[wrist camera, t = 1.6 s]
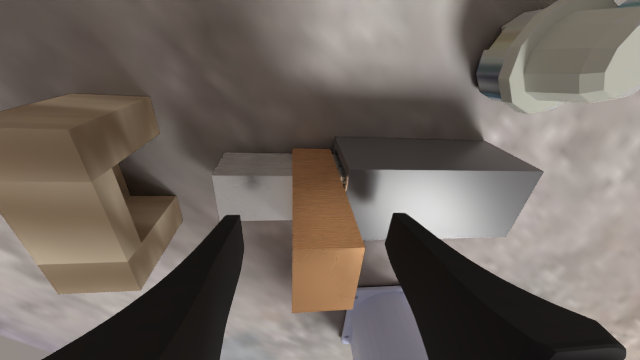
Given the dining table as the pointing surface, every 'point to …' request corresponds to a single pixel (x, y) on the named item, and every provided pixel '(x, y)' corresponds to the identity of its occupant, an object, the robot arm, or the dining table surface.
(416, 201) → the sleeve
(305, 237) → the brown and grey block
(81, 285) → the socket block
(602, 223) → the dining table surface
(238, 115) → the dining table surface
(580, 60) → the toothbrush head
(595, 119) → the dining table surface
